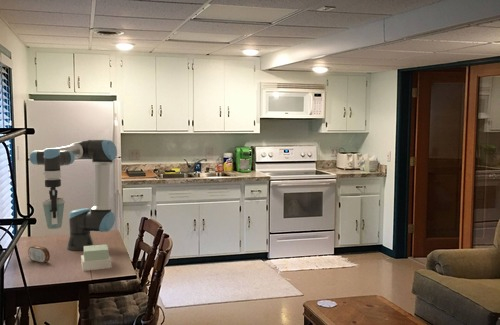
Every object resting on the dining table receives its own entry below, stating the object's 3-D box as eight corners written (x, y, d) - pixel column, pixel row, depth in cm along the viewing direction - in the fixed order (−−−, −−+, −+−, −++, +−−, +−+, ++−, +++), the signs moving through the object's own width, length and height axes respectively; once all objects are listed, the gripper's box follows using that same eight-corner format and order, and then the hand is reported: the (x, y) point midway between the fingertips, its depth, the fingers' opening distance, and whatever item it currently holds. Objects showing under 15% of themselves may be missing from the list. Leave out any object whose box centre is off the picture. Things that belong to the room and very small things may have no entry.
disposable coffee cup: (43, 230, 254) (42, 200, 253) (43, 226, 264) (42, 197, 263) (66, 229, 258) (65, 199, 257) (65, 225, 268) (64, 196, 267)
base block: (81, 264, 274) (80, 255, 274) (108, 261, 279) (108, 252, 279) (83, 271, 261) (82, 262, 261) (111, 268, 267) (111, 259, 266)
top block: (83, 255, 274) (83, 246, 273) (107, 253, 278) (106, 244, 277) (84, 261, 262) (84, 251, 262) (108, 259, 266) (108, 249, 266)
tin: (50, 263, 276) (50, 247, 275) (45, 264, 273) (45, 248, 272) (32, 259, 283) (31, 244, 283) (27, 260, 281) (26, 245, 280)
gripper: (44, 176, 268) (46, 218, 270) (44, 181, 247) (46, 227, 249) (59, 176, 271) (61, 217, 273) (61, 181, 250) (63, 225, 252)
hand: (54, 222), depth 261 cm, fingers closed on disposable coffee cup, 11 cm apart
